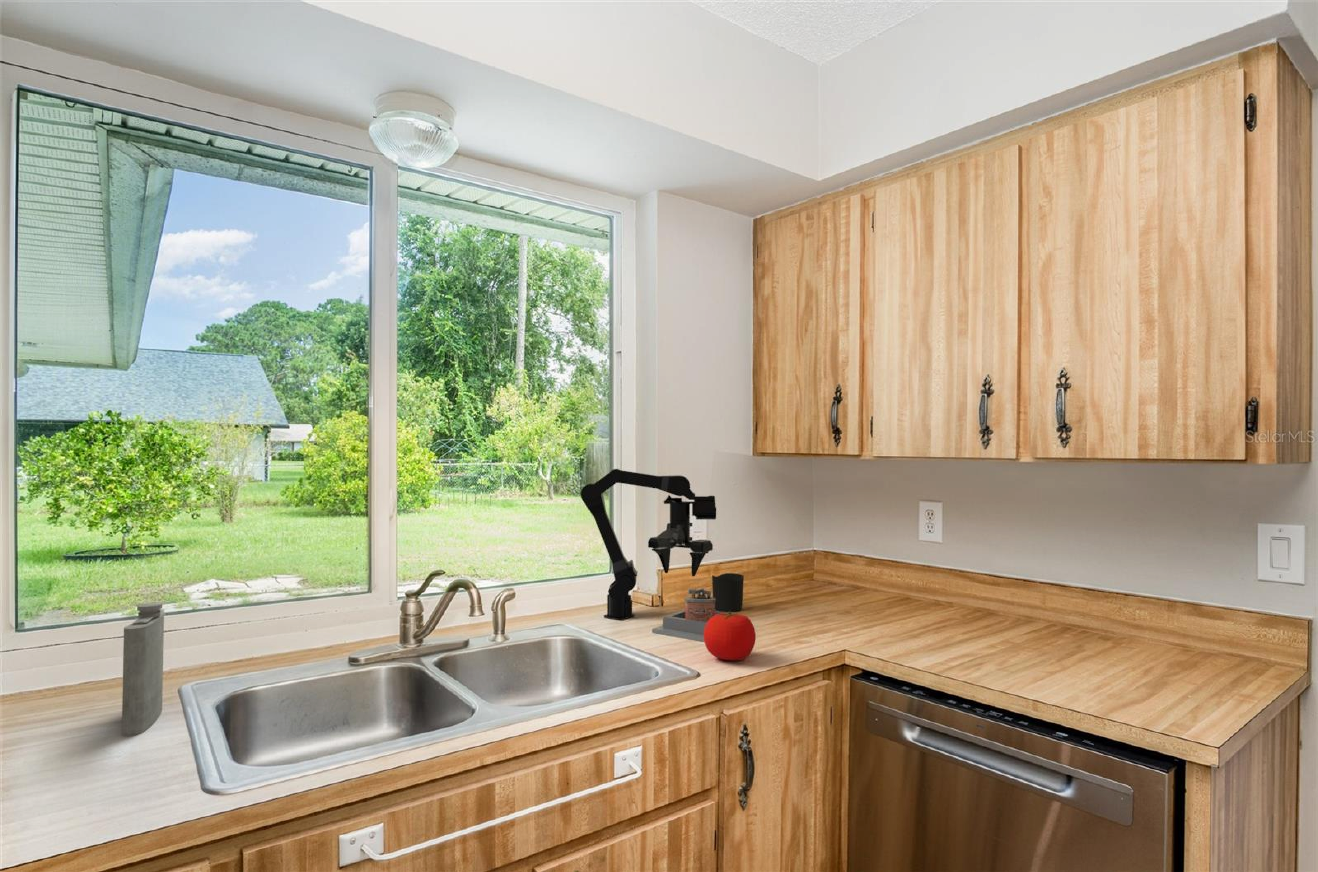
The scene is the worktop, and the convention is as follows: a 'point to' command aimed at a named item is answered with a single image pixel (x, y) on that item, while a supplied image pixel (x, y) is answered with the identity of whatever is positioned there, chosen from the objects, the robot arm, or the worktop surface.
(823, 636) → the worktop surface
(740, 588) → the pen holder
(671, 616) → the stand
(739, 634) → the tomato
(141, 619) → the hip flask
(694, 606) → the lighter
